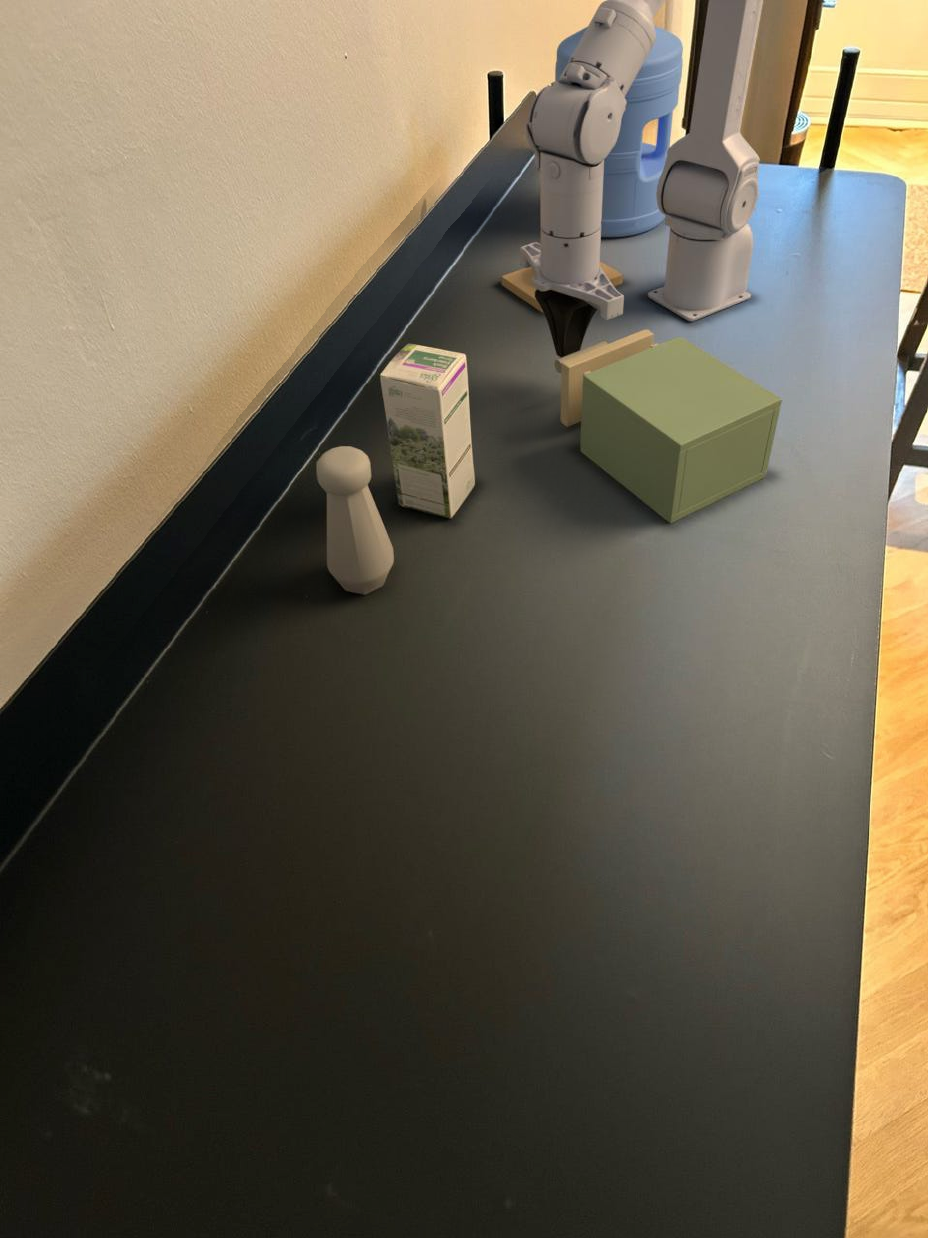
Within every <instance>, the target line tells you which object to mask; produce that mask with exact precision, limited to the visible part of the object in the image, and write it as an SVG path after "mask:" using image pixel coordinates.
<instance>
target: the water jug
mask: <svg viewBox="0 0 928 1238" xmlns="http://www.w3.org/2000/svg"><path fill="white" fill-rule="evenodd" d="M587 27H588V26H585V27H584V28H582V29H580V30H578V31H576V32H575V33H573V34H570V35H569V36H567V37H566V38H564V39H563V40H562V41H561V42H560V43H559V45H558V46H557V49H556V60H555V61H556V62H555V67H554V71H555V72H554V82H555V81H559V78H560V77H561V75H562V73H563V71H564V69H565V67H566V66H567V64H568V62H569V60H570V58H571V57H572V55H573V53H574V51H575V49H576V47H577V46H578V44H579V42H580V40H581V38H582V36H583V35H584V33H585V31H586V29H587ZM654 27H655V33H656V40H655V43H654V45H653V47H652V49H651V51H650V52H649V54H648V56H647V58H646V60H645V61H644V63H643V65H642V67H641V69H640V70H639V72H638V74H637V76H636V78H635V79H634V81H633V83H632V85H631V87H630V88H629V90H628V92H627V94H626V96H625V97H624V98H625V100H626V102H627V104H626V106H625V108H626V109H625V111H624V113H623V115H622V119H621V126H620V131H619V135H618V139H617V141H616V144H615V146H614V147H613V148H612V150H611V151H610V153H609V154H608V156H607V157H606V158H605V159H604V174H603V197H602V218H601V238H624V237H630V236H636V235H639V234H642V233H645V232H648V231H650V230H652V229H654V228H656V227H658V226H659V225H660V224H662V222H664V221H665V216H666V215H664V214H662V213H661V212H660V210H659V208H658V204H657V197H656V193H657V186H658V182H659V179H660V176H661V174H662V172H663V169H664V166H665V162H666V158H667V151H668V149H669V148H670V147H671V137H672V126H673V116H674V110H675V109H676V108H677V107H678V104H679V95H680V86H681V82H682V76H683V65H684V64H683V63H684V60H683V51H684V46H683V42H682V40H681V39H680V38H679V37H678V36H677V35H676V34H673V33H672V32H669V31H668V30H666V29H664V28H661V27H660V26H658V25H656V24H654ZM656 120H658V121H657V131H656V132H657V133H656V145H654V144H652V143H648V142H643V136H644V129H645V127H646V125H648V123H650V122H651V121H656Z"/></svg>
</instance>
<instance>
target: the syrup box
mask: <svg viewBox="0 0 928 1238" xmlns="http://www.w3.org/2000/svg"><path fill="white" fill-rule="evenodd" d="M467 363H468V362H467V355H466V354H465V353H462V352H456V351H451V350H446V349H441V348H435V347H430V346H425V345H420V344H414V343H410V342H409V343H407V344H406V345H405V346H404V347H402V348H401V349H400V350H399V351H398V353H396V355H395V356H394V357H393V358H392V359H391V360H390V361H389V362H388V364H387V365H386V367H385V368H384V369H383V370H382V371H381V373H380V374H379V376H380V377H379V379H380V386H381V393H382V399H383V405H384V411H385V412H384V413H385V419H386V425H387V426H386V427H387V433H388V440H389V441H388V442H389V446H390V455H391V460H392V466H393V474H394V481H395V487H396V495H397V502H398V506H399V507H403V508H407V509H412V510H415V511H419V512H422V513H427V514H431V515H435V516H438V517H442V518H445V519H446V518H447V519H452V518H453V517H454V516H455V515H456V513H457V512H458V511H459V509H460V508H461V506H462V505H463V503H464V502H465V501H466V499H467V498H468V496H469V495H470V494H471V492H472V490H473V489H474V488H475V485H476V477H475V476H476V475H475V467H474V458H473V457H474V456H473V446H472V445H473V444H472V443H473V442H472V430H471V414H470V413H471V412H470V395H469V394H470V393H469V376H468V375H469V374H468V365H467Z"/></svg>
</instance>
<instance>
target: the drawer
mask: <svg viewBox="0 0 928 1238" xmlns="http://www.w3.org/2000/svg"><path fill="white" fill-rule="evenodd" d="M659 344H660V343H657V342H656V343H654V333H653V332H651V330H649V329H647V328H645V329H643V330H640V331H637V332H634V333H633V334H630V335H627V336H625V337H622V338H620V339H617V340H614V341H612V342H610V343H608V342H607V341H605V340H603V341H600V342H598V343H595V344H592V345H590V346H588V347H585V348H583V349H582V348H581V349H580V351H577V352H575V353H572V354H570V355H567V356H565V357H562V358H560V357H559V358H557V359H555V360H554V368H555V370H556V372H557V373H559V374H561V377H560V378H561V382H560V389H561V390H560V422H561V423H562V425H564V426H565V427H566V428H568V427H571V426H573V425H575V424H578V423H581V418H582V390H583V375H585V374H588V373H590V372H593V371H595V370H598V369H600V368H602V367H605V366H607V365H610V364H612V363H615V362H617V361H620V360H622V359H625V358H627V357H629V356H632V355H634V354H637V353H639V352H642V351H644V350H647V349H649V348H652V347H654V346H657V345H659Z"/></svg>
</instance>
